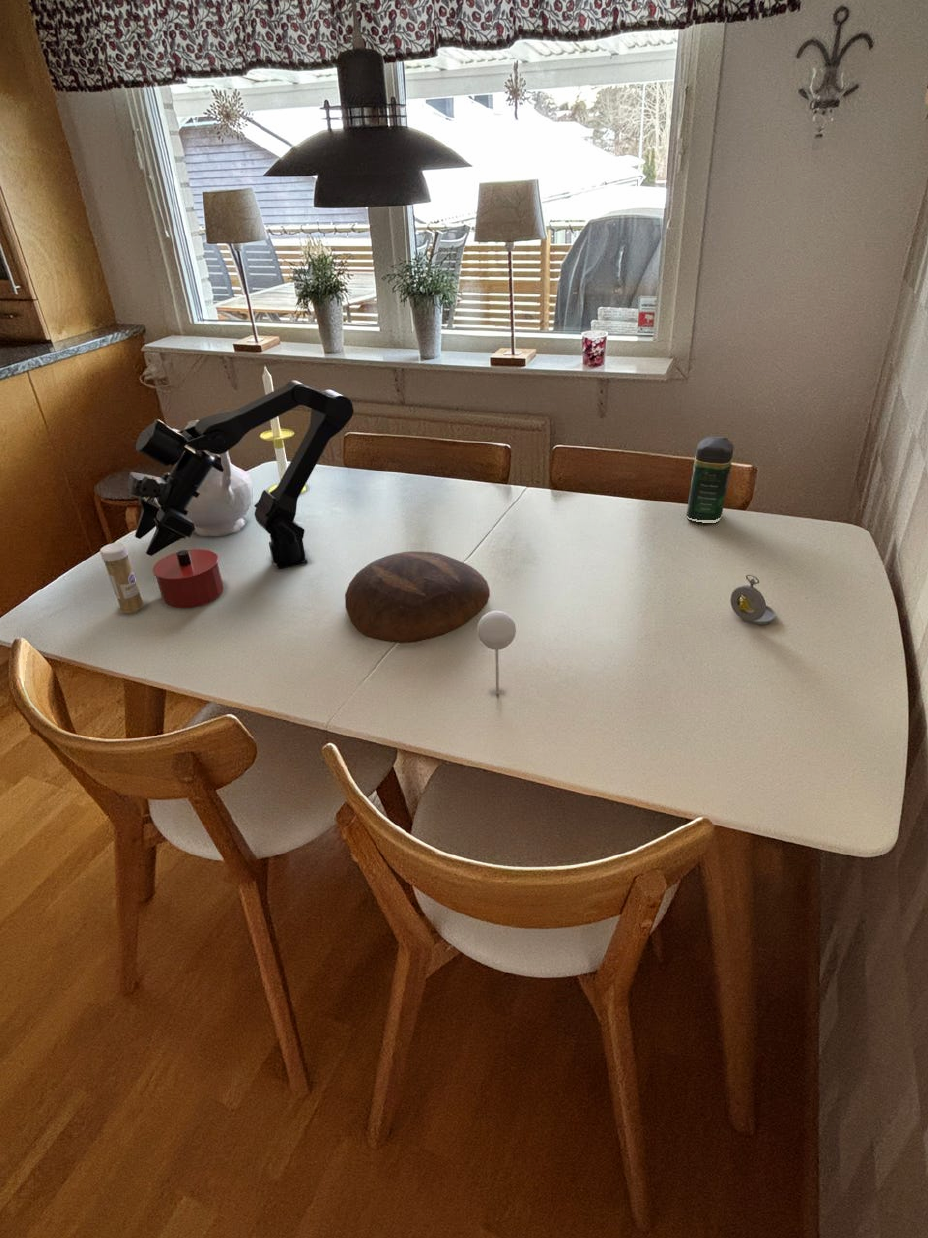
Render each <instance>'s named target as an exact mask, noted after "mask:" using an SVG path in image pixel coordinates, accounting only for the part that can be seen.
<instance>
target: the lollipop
mask: <svg viewBox="0 0 928 1238" xmlns="http://www.w3.org/2000/svg"><path fill="white" fill-rule="evenodd" d="M476 628H477V629H476V632H477V637H478V639H479V641H480V642H481V644H482V645H483V646H485V647H486V648H488V649H491V650H495V653H494V655H495V694H496V695H499V693H500V679H499V678H500V677H499V675H500V671H499V670H500V669H499V668H500V667H499V650H503V649H505V648H507V647H509V646H510V645H511V644H512V643H513V641H514V640H515V638H516V634H517V628H516V623H515V621H514V619H513V618H512V617H511V616H510V615H509V614H508V613H506V612H504V611H500V610H492V611H489V612H487V613H485V614H484V615H483V616H482V617H481V618H480V619H479V621H478V624H477V627H476Z"/></svg>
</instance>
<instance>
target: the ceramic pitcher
mask: <svg viewBox="0 0 928 1238" xmlns="http://www.w3.org/2000/svg"><path fill="white" fill-rule="evenodd" d="M199 420H200V419H192V420H190V421H188V422H186V423H187V425H185V428H184V429H187V428H189V427H192V426H195V425H196V423H197V422H198V421H199ZM172 429H173V430H174V431H176V432H178V431H180V430H179V429H176V428H172ZM185 446H186V447H188V448H190V449H191V450H193V451H195V449H193V448H191V447H190V446H188V445H187V444H186V445H185ZM203 451H204V452H206V453H208V454H209V455H211V456H214V455H219V456H220V457H221V462H222V466H223V469H224V471H223V472H220V471H219V470H217V469H215V468H214V467H212V468H211V470H210V472H209V473H208V475H207V476H206V478H205V479H204V481H203V483H202V484H201V486H200V487H199V489H198V490H197V491H198V492H199V493H200V494H199V496H198V498H196V497H193V498H192V500H191V501H190V503H189V504H188V506H187V507H186V509H187V510H188V513H187V515H186V516H188V517H189V518H190V519H191V521H192V522H193V523H194V527H195V530H194V532H195V534H196V535H197V536H198V537H200V536H201V537H203V536H204V537H225V536H227V535H230V534H233V533H235V532H239V531H241V530H242V529H243V527H244V525H246V523H247V522H246V520H245V519H243V517H244V516H246V515H247V513H248V512H249V510H250V507H251V505H252V504H253V501H254V485H253V481H252V479H251V476H250V475H249V473H247V472H246V470H244V469H242V468H240V467H237V465H234V464H233V463H232V462H231V458H230V454H229V451H230V450H228V451H227V452H225V453H223V454H214V453H211V452H209V451H208V450H203Z"/></svg>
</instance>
